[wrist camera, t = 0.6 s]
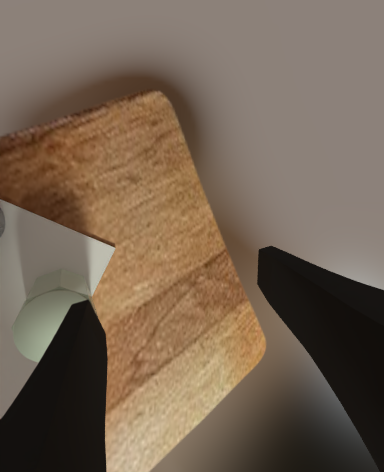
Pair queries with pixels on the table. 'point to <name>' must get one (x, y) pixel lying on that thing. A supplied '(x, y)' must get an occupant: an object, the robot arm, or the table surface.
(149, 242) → the table surface
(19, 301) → the grey mat
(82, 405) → the robot arm
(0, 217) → the grey pillar candle
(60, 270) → the sage cup
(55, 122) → the table surface
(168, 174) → the table surface
